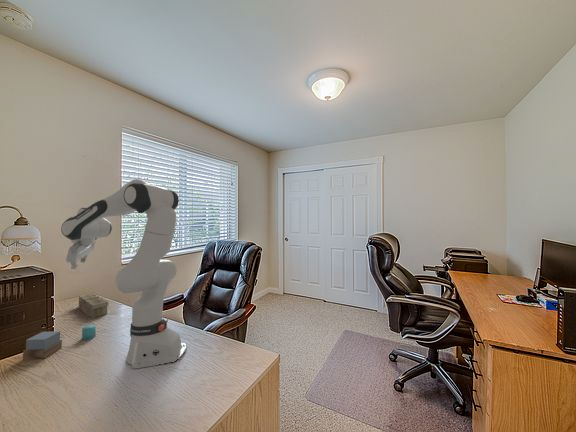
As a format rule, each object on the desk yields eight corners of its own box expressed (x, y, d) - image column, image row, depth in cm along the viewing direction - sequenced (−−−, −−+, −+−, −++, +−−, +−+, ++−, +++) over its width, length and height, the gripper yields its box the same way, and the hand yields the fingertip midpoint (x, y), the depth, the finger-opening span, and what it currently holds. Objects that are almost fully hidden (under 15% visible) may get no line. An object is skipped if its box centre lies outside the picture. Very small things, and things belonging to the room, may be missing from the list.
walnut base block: (61, 349, 103) (61, 339, 103) (45, 359, 95) (45, 349, 95) (41, 349, 102) (41, 340, 102) (22, 360, 94) (23, 350, 94)
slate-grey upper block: (59, 340, 102) (60, 331, 102) (44, 349, 95) (45, 339, 95) (42, 341, 102) (42, 331, 102) (25, 349, 95) (26, 339, 95)
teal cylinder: (98, 334, 115) (98, 324, 115) (90, 340, 110) (91, 329, 110) (86, 335, 115) (87, 325, 115) (79, 340, 110) (79, 329, 110)
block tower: (77, 308, 151) (91, 319, 133) (78, 295, 151) (91, 304, 134) (93, 305, 157) (108, 314, 140) (93, 292, 157) (108, 300, 140)
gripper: (81, 245, 109) (76, 273, 110) (99, 235, 128) (94, 259, 129) (64, 243, 107) (59, 272, 108) (84, 233, 126) (80, 258, 127)
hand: (78, 265), depth 118 cm, fingers open, 8 cm apart
